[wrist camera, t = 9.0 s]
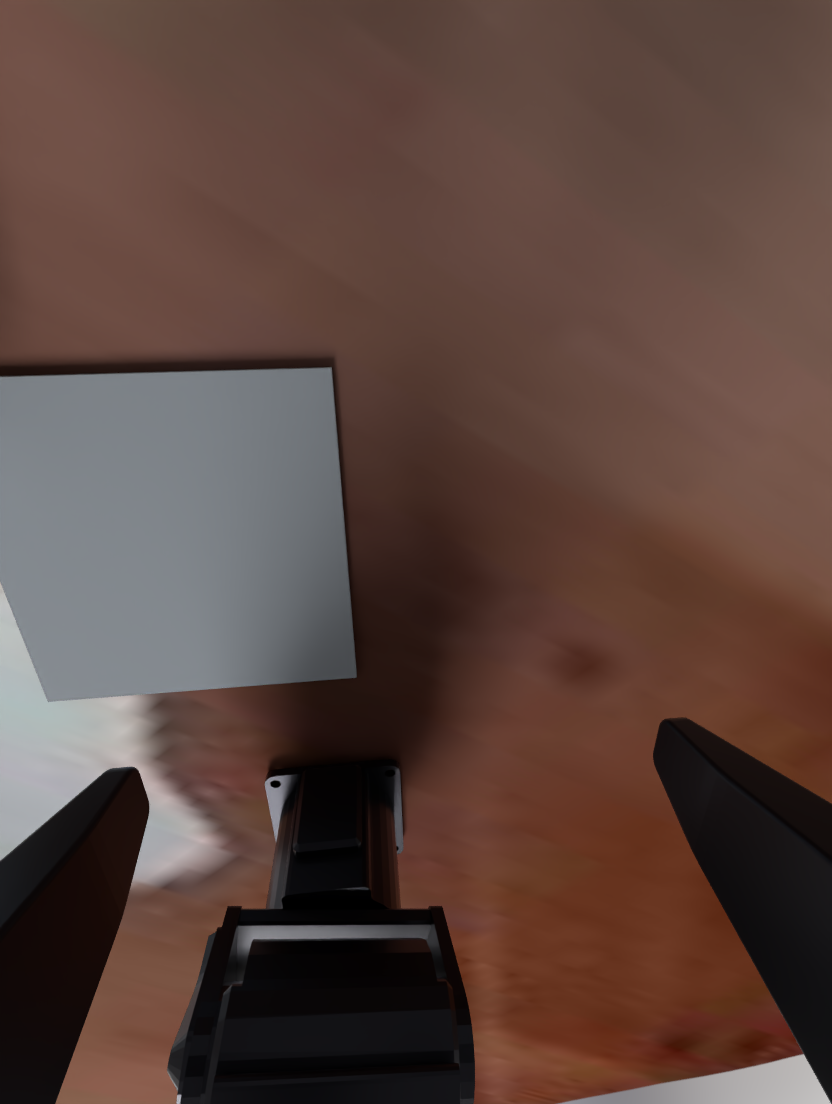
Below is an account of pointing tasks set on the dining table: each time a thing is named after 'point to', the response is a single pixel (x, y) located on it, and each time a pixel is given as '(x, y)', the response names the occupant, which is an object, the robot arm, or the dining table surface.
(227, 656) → the mat
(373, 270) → the dining table surface
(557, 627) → the dining table surface
